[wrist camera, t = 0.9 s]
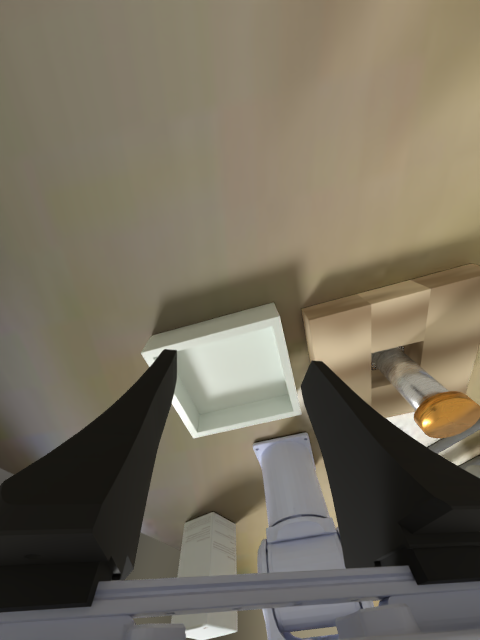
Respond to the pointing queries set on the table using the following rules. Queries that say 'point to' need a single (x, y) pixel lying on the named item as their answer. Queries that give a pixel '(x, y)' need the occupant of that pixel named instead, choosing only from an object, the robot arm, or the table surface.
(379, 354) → the pin
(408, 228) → the table surface
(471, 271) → the pin plate
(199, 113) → the table surface
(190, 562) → the supplement box
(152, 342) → the tray
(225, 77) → the table surface
